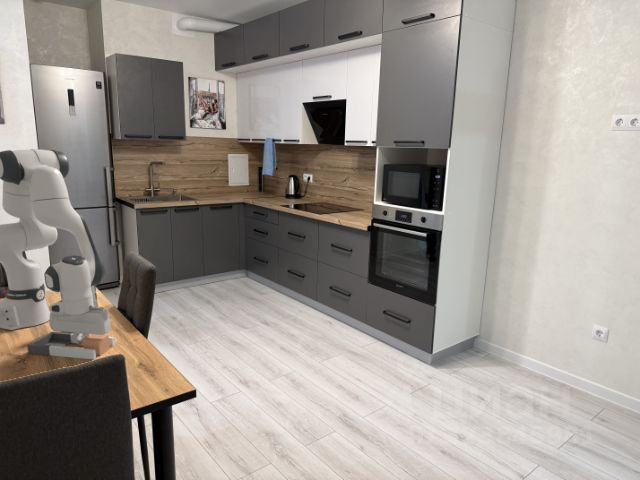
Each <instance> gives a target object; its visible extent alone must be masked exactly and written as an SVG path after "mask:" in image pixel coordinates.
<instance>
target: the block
mask: <svg viewBox="0 0 640 480" xmlns="http://www.w3.org/2000/svg"><path fill="white" fill-rule="evenodd" d="M109 337H110V335H108V334H105V335H97V334H90V336H88V337H87V338H85V339H83V340H82V341H83V345H82V348H83V349H94V350H95V352H96V356H102V355H104V354H105V353H106V352H108V351H110V347H111V346H109Z"/></svg>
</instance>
